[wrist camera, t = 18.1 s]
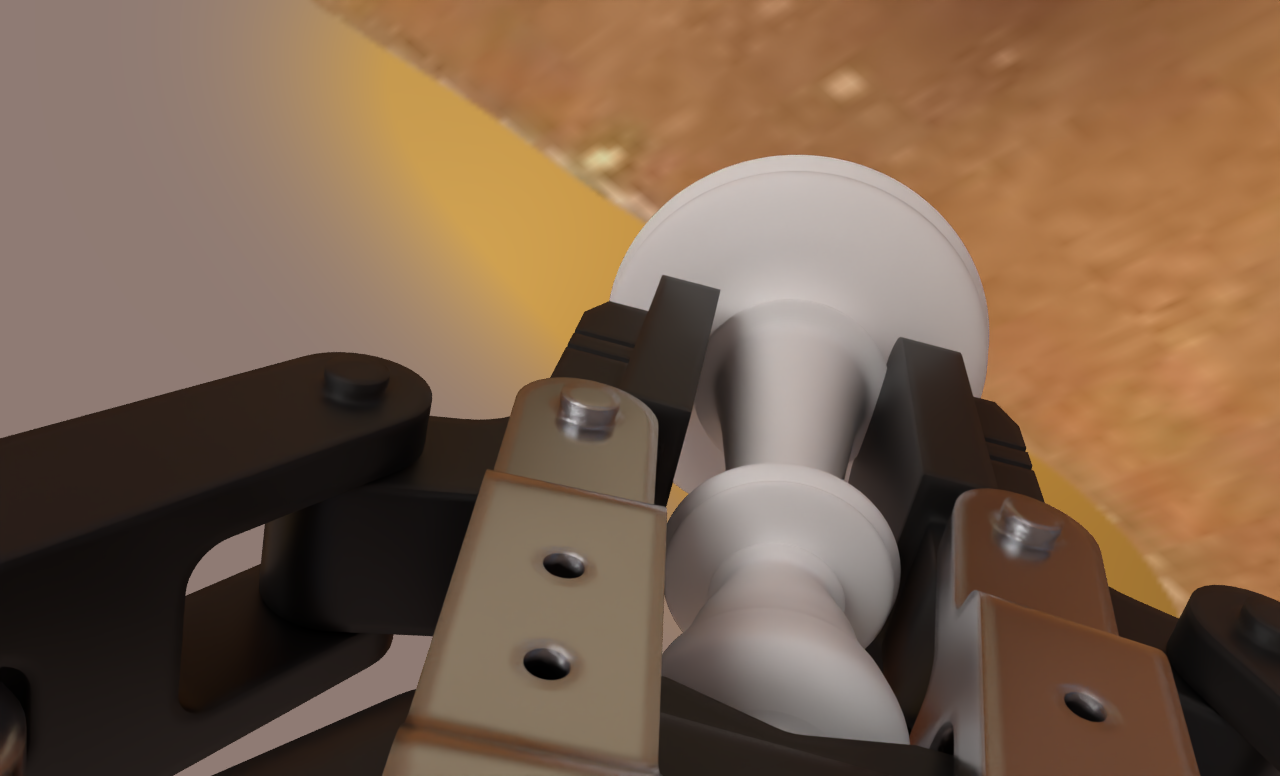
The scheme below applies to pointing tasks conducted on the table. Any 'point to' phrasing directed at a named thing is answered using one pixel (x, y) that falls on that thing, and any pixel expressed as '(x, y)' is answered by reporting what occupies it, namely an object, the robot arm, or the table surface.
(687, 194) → the chess piece
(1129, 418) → the table surface
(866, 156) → the table surface
